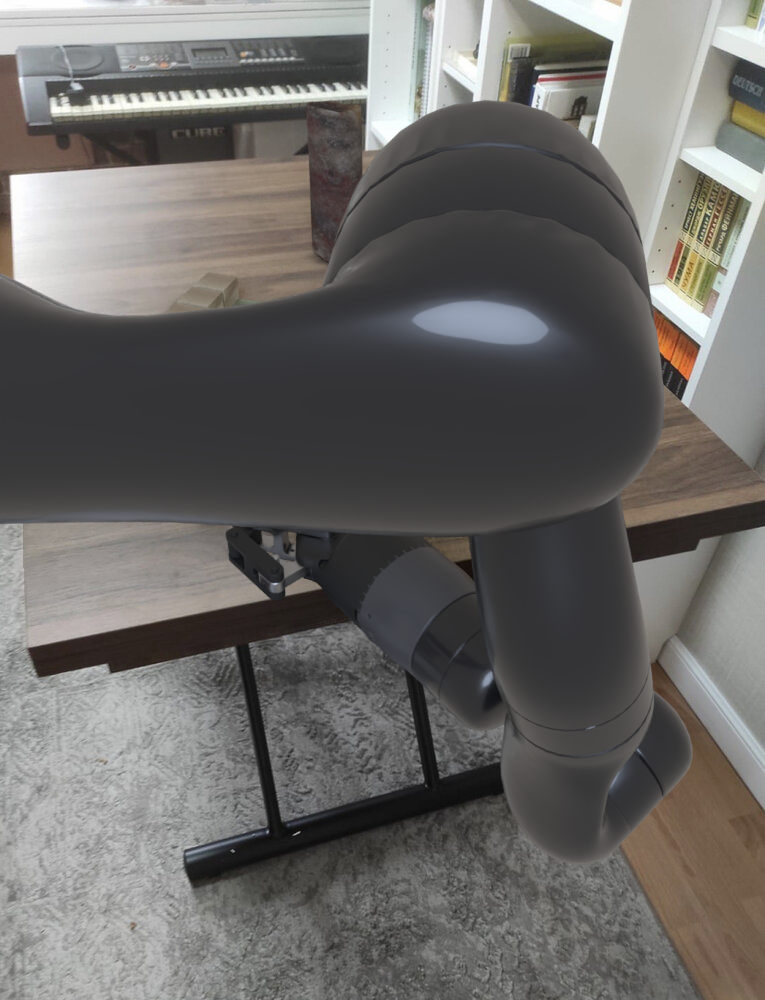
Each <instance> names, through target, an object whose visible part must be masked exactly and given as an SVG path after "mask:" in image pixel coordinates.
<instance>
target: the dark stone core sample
mask: <svg viewBox="0 0 765 1000" xmlns="http://www.w3.org/2000/svg"><path fill="white" fill-rule="evenodd" d="M305 108H306V109H305V110H306V129H307V151H308V167H309V168H308V171H309V173H308V174H309V201H310V203H309V204H310V228H311V245H312V249H313V252H314V253H315V254H316V255H318V256H319V257H320V258H321V259H323V260H324V262H327V263H329V261H330V257H331V254H332V250H333V248H334V243H335V239H336V235H337V232H338V229H339V226H340V223H341V221H342V218H343V216H344V214H345V211H346V209H347V207H348V204H349V202H350V200H351V197H352V195H353V192H354V190H355V188H356V186H357V184H358V182H359V181H360V179H361V177H362V176H363V120H362V119H363V118H362V115H363V114H362V105H361V104H346V103H341V102H339V101H335V100H325V101H309V102H306V104H305Z"/></svg>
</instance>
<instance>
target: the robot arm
mask: <svg viewBox="0 0 765 1000" xmlns="http://www.w3.org/2000/svg"><path fill="white" fill-rule="evenodd" d="M362 175H363V176H362V177H361V179H360V181H359V182H358V184H357V186H356V188H355V190H354V192H353V195H352V197H351V200H350V202H349V204H348V207H347V209H346V211H345V214H344V216H343V218H342V221H341V223H340V226H339V229H338V232H337V235H336V239H335V243H334V248H333V250H332V254H331V257H330V261H329V262H328V265H327V269H326V272H325V276H324V280H323V284H322V286H320V287H318V288H314V289H312V290H308V291H305V292H304V291H303V292H300V293H295V294H291V295H287V296H283V297H278V298H274V299H269V300H265V301H256V302H257V303H251V304H245V305H239V306H233V307H223V308H214V309H204V310H194V311H184V312H174V313H165V312H164V313H155V314H134V315H133V314H128V315H127V314H125V315H123V314H119V315H118V314H117V315H115V314H107V313H99V312H98V313H97V312H91V311H87V310H82V309H78V308H75V307H72V306H69V305H67V304H65V303H62V302H61V301H58V300H55V299H53V298H51V297H50V296H47V295H46V294H44V293H42V292H40V291H37V290H36V289H33V288H32V287H30V286H28V285H26V284H24V283H23V282H20V281H18V280H16V279H14V278H12V277H10V276H8V275H6V274H4V273H1V272H0V525H18V524H19V525H22V524H23V525H24V524H25V525H27V524H73V523H75V524H77V523H79V524H84V523H85V524H87V523H90V524H91V523H92V524H93V523H94V524H95V523H173V524H175V523H176V524H192V525H209V526H210V525H211V526H225V527H230V528H229V529H228V530H226V531H225V540H226V542H227V543H226V544H227V549H228V550H227V551H228V555H227V556H228V561H229V562H230V563H231V564H232V565H233V566H234V567H235V568H236V569H237V570H239V571H240V572H241V573H242V574H243V575H244V576H245V577H246V579H248V580H249V581H250V582H251V583H252V584H253V585H255V587H257V588H258V589H259V590H260V591H261V592H262V593H263V594H265V595H266V597H268V598H269V599H270V600H271V601H276V602H278V601H281V600H283V599H284V598H285V597H286V594H287V593H286V588H287V587H289V586H292V584H294V583H296V582H297V581H300V580H301V579H302V578H303V579H304V580H308V581H311V582H314V583H315V584H317V585H318V586H319V587H320V588H321V590H322V591H323V592H324V594H325V595H326V596H327V598H328V599H329V600H330V601H331V602H332V603H333V604H334V605H335V606H336V607H337V608H338V609H339V610H340V611H341V612H342V613H343V614H344V615H345V616H346V617H347V618H348V619H349V620H350V621H351V622H352V623H353V624H354V625H355V626H356V627H357V628H358V629H359V630H360V631H361V632H362V633H363V634H364V635H365V637H366V638H367V639H368V640H369V641H370V642H371V643H372V644H374V645H375V646H376V647H377V648H379V649H380V651H381V652H383V654H384V655H386V656H387V657H388V658H389V659H390V660H392V661H393V662H394V663H395V664H397V665H398V666H400V667H401V668H402V669H404V670H405V671H406V672H408V673H409V674H410V675H411V676H412V677H414V678H415V680H417V681H418V682H419V684H421V685H422V686H423V687H424V688H425V689H426V690H427V691H428V692H429V693H430V694H431V695H432V696H433V697H434V698H435V699H436V700H437V701H438V702H439V703H440V704H441V705H442V706H443V707H444V708H445V709H446V710H448V712H449V713H451V715H452V716H453V717H454V718H455V719H457V720H458V721H459V722H460V723H461V724H463V725H464V726H465V727H467V728H469V730H472V731H477V732H487V731H493V730H495V729H497V728H499V727H502V726H503V734H502V743H501V749H500V750H501V751H500V780H501V785H502V789H503V793H504V796H505V799H506V802H507V805H508V807H509V809H510V812H511V814H512V817H513V818H514V820H515V821H516V823H517V825H518V826H519V828H520V829H521V831H522V832H523V833H524V835H525V836H526V837H527V838H528V839H529V841H531V842H532V844H534V846H536V848H538V849H539V850H541V851H542V852H543V853H544V854H546V855H547V856H549V857H550V858H552V859H554V860H557V861H558V862H561V863H565V864H569V865H576V866H587V865H592V864H595V863H598V862H601V861H603V860H604V859H606V858H607V857H609V856H611V855H612V854H613V853H614V852H615V851H616V850H617V849H618V848H619V847H620V846H621V845H622V844H623V843H624V842H625V840H626V839H628V837H630V835H631V834H632V833H633V832H634V831H635V830H636V829H637V828H638V826H640V825H641V823H642V822H643V821H644V820H645V819H646V818H647V817H648V815H650V813H652V811H653V810H654V809H655V808H656V807H657V806H658V805H659V803H661V802H662V800H663V799H665V798H666V796H668V795H669V794H670V793H671V791H672V790H673V789H675V787H676V786H677V785H678V784H679V782H681V780H682V779H683V778H684V777H685V775H686V774H687V773H688V771H689V770H690V767H691V764H692V761H693V757H694V755H693V754H694V753H693V744H692V740H691V736H690V733H689V731H688V728H687V726H686V724H685V723H684V721H683V719H682V718H681V716H680V715H679V714H678V712H677V711H676V709H675V708H674V707H673V706H672V705H671V703H669V702H668V701H667V700H666V699H665V698H663V696H661V695H660V694H659V693H658V692H656V691H655V690H654V682H653V674H652V665H651V657H650V647H649V642H648V635H647V629H646V624H645V619H644V613H643V607H642V603H641V598H640V593H639V589H638V583H637V578H636V573H635V568H634V562H633V558H632V551H631V547H630V546H631V545H630V541H629V536H628V531H627V525H626V520H625V514H624V509H623V502H622V496H621V493H622V492H623V491H624V490H626V489H627V488H628V487H629V486H630V485H631V484H633V482H635V481H636V480H637V479H638V478H639V476H640V475H642V473H643V471H644V470H645V469H646V467H647V465H648V463H649V462H650V461H651V459H652V457H653V455H654V454H655V453H656V450H657V447H658V445H659V442H660V439H661V436H662V433H663V428H664V420H665V387H664V380H663V370H662V359H661V352H660V345H659V337H658V329H657V327H656V324H655V323H656V322H655V315H654V314H655V313H654V307H653V301H652V293H651V288H650V282H649V275H648V269H647V262H646V256H645V249H644V244H643V240H642V234H641V231H640V226H639V221H638V218H637V215H636V212H635V210H634V207H633V206H632V203H631V201H630V198H629V197H628V194H627V191H626V189H625V187H624V185H623V183H622V181H621V179H620V176H619V175H618V174H617V173H616V171H615V170H614V168H613V167H612V165H611V164H610V163H609V162H608V160H607V158H606V157H605V156H604V155H603V154H602V152H601V150H600V149H599V148H598V147H597V146H596V145H595V144H594V143H593V142H591V141H590V140H589V138H587V137H586V136H585V135H584V134H582V133H581V132H580V131H579V130H578V129H577V128H576V127H575V126H573V125H572V124H570V123H568V122H566V121H565V120H562V119H561V118H559V117H557V116H555V115H554V114H552V113H550V112H548V111H546V110H543V109H539V108H536V107H533V106H530V105H526V104H523V103H520V102H518V101H517V102H515V101H503V100H490V99H489V100H487V99H483V100H476V101H469V102H461V103H454V104H452V105H448V106H445V107H442V108H438V109H436V110H433V111H432V112H429V113H426V114H425V115H423V116H421V117H420V118H418V119H416V120H415V121H414V122H411V123H410V124H409V125H407V126H405V127H403V128H402V129H400V130H399V132H397V133H396V134H395V135H394V136H393V137H392V138H391V139H390V140H389V141H388V142H387V143H386V144H385V145H384V146H383V147H382V148H381V149H380V150H379V151H378V152H377V154H376V155H375V157H374V158H373V160H372V161H371V162H370V164H369V165H368V167H367V168H366V169H365V171H364V173H362ZM231 527H232V528H231ZM262 532H264V533H269V534H271V535H268V534H263V533H262ZM289 533H295V544H293V543H292V542H291V541H290V538H289V537H290V536H289V535H290V534H289ZM426 538H468V545H469V552H470V559H471V566H472V573H473V578H472V577H471V576H470V575H469V574H468V573H466V571H464V570H463V569H462V568H461V567H460V566H458V565H457V563H455V562H454V561H453V560H451V559H450V558H449V557H448V556H447V555H446V554H445V553H443V552H442V551H440V549H438V548H437V547H435V545H433V544H432V543H431V542H430V541H428V540H427V539H426ZM271 553H272V554H273V555H271Z"/></svg>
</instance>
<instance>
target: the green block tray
mask: <svg viewBox="0 0 765 1000" xmlns="http://www.w3.org/2000/svg"><path fill="white" fill-rule="evenodd" d="M257 302H258V301H256V300H249V299H244V298H240V291H239V280H238V276H236V275H230V274H224V273H216V272H210V271H208V272H206V273H205V274H204V275H203V276H202V277H201V278H200V279H199V280H197V282H196V283H195V284H194V285H193V286H192V287H190V288H189V289H187V291H186V292H185V293H184V294H182V296H181V297H180V298H179V299H177V300H176V302H175V303H174V304H173V305H171V306H170V307H169V308H168V309H167V310H166V311H165V312H164V313H174V312H184V311H194V310H204V309H214V308H223V307H233V306H239V305H245V304H251V303H257Z"/></svg>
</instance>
